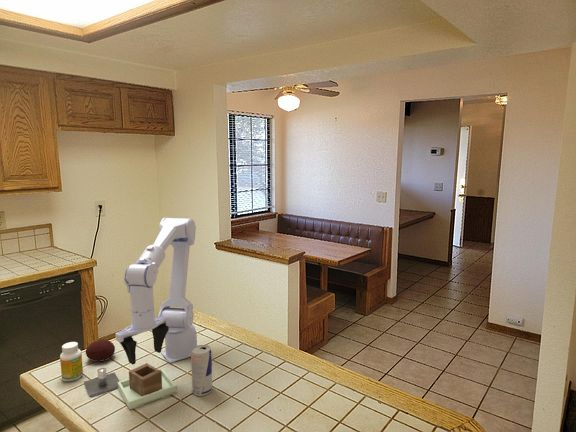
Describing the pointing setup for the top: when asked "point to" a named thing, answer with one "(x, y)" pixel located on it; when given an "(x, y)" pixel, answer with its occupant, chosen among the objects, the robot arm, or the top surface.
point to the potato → (100, 350)
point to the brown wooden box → (145, 379)
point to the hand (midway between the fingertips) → (145, 357)
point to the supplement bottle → (71, 362)
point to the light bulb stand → (101, 383)
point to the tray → (138, 400)
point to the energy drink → (201, 370)
